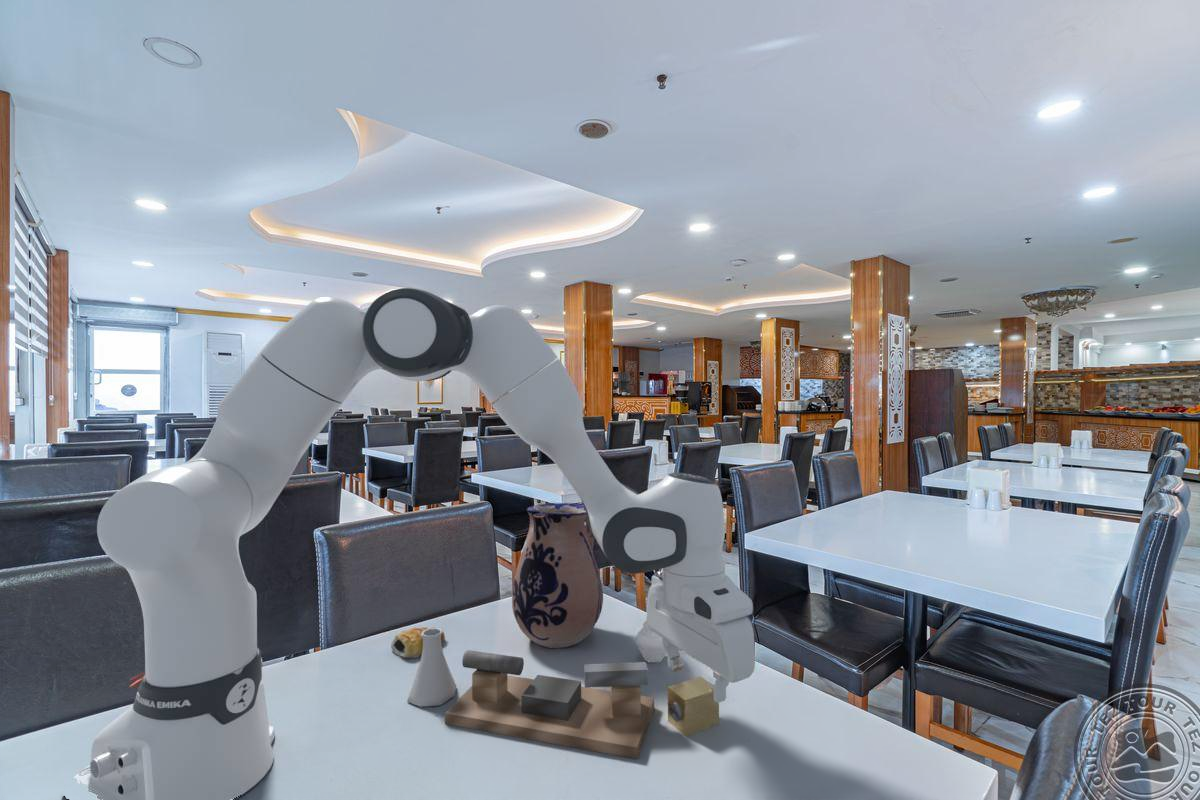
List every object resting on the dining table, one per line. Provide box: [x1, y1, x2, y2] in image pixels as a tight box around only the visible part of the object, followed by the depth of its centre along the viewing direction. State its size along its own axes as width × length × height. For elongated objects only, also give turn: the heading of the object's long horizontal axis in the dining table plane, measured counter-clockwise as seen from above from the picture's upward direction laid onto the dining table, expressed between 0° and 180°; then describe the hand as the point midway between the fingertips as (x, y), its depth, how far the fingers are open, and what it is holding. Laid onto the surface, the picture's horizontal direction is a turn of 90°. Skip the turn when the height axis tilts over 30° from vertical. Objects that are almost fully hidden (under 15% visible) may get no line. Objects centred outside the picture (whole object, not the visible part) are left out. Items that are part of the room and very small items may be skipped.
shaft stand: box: [444, 649, 655, 760], centre depth 80 cm, size 28×12×8 cm, turn 74°
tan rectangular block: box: [667, 676, 720, 737], centre depth 78 cm, size 7×4×5 cm, turn 119°
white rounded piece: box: [635, 620, 667, 663], centre depth 97 cm, size 6×6×7 cm
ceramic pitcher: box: [511, 501, 604, 649], centre depth 107 cm, size 18×21×25 cm
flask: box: [407, 627, 457, 708], centre depth 85 cm, size 7×7×10 cm
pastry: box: [390, 627, 446, 659], centre depth 102 cm, size 9×7×4 cm
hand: (695, 683), depth 78 cm, fingers open, 8 cm apart
